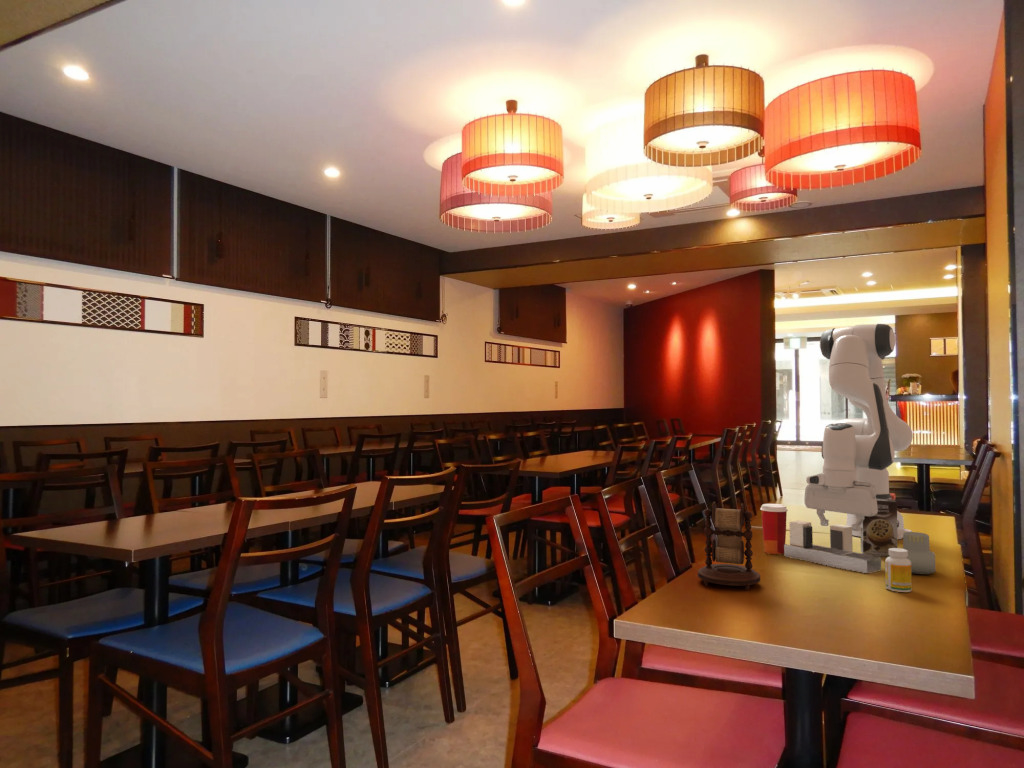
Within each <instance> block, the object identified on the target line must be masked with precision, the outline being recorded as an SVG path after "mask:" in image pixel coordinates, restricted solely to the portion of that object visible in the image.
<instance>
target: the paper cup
mask: <svg viewBox="0 0 1024 768" xmlns="http://www.w3.org/2000/svg"><path fill="white" fill-rule="evenodd" d="M759 508H760V509H759V510H761V524H762V537H763V539H762V540H763V551H764V553H765V552H766V554H768V553H771V554H770V555H775V554H781V555H784V554H783V553H784V545H785V544H786V535H787V516H788V515H787V512H788V511H789V510H788V509H787V505H785V504H780V503H763V504H762V505H761V506H760V507H759Z"/></svg>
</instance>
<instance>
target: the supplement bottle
mask: <svg viewBox="0 0 1024 768" xmlns="http://www.w3.org/2000/svg"><path fill="white" fill-rule="evenodd" d="M888 554H889V555H890V557H886V558H885V561H884V564H885V565H884V566H885V576H884V577H885V589H886V588H887V589H889V590H892V591H891V592H893V591H898V592H909V593H911V592H912V573H911V561H910V560H909V559H907V556H908V551H907V550H905V549H902V548H900V547H897V548H889V552H888ZM887 589H886V590H887ZM889 590H888V591H889ZM898 592H897V593H898Z"/></svg>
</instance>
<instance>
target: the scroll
mask: <svg viewBox="0 0 1024 768" xmlns="http://www.w3.org/2000/svg"><path fill="white" fill-rule="evenodd" d="M703 513H704V516H705V517H704V519H706V520H705V523H704V525H705V528H704V530H703V533H704V535H705V538H706V539H705V545H706V546H705V547H704V552H705V556H706V558H705V561H704V562H705V564H706V565H704V566H702V567H701V568H699V569H698V570H697V578H698V579H700V580H702V581H703V582H704V586H705V587H709V583H711V584H716V585H721V586H722V585H723V586H733V587H735V586H738V587H739V586H743V587H744V589H745V591H749V589H750V585H756V584H759V583H760V582H761V574H760V573H759V572H757V571H756V570H755V569H753V563H752V561H751V560H752V559H753V558H752V556H753V554H754V553H753V550H752V548H753V547H752V540H753V531H752V524H751V522H752V517H753V514H752V512H751V511H750V510H747V511H745V505H744V503H741V506H740V509H735V508H721V507H720V508H717V504H716V501H713V502H712V506H711V509H710V508H706V509H705V510H704V512H703ZM712 524H713V525H714V528H716V529H714V530H713V528H712ZM743 526H744V529H745V530H743ZM713 535H715V536H717V539H716V538H713V539H711V538H712V536H713ZM743 537H744V540H745V543H744V541H743ZM716 541H717V542H716ZM745 548H746V549H745ZM744 560H746V561H745V564H744ZM713 562H716V563H715V564H713ZM743 564H744V565H743Z"/></svg>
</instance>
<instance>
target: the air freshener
mask: <svg viewBox="0 0 1024 768" xmlns="http://www.w3.org/2000/svg"><path fill="white" fill-rule="evenodd" d="M902 539H903V540H902V545H903V546H902V548H901V549H905V550H907V551H908V556H907V559H909V560H910V561H911V574H913V575H930V574H934V573H935V572H936V570H937V569H936V567H937V566H936V553H935V552H933V551H931V550H930V536H929V535H928V534H927V533H925V532H920V531H918V532H917V531H916V532H915V531H912V532H905V533H904V534H903V538H902Z"/></svg>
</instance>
